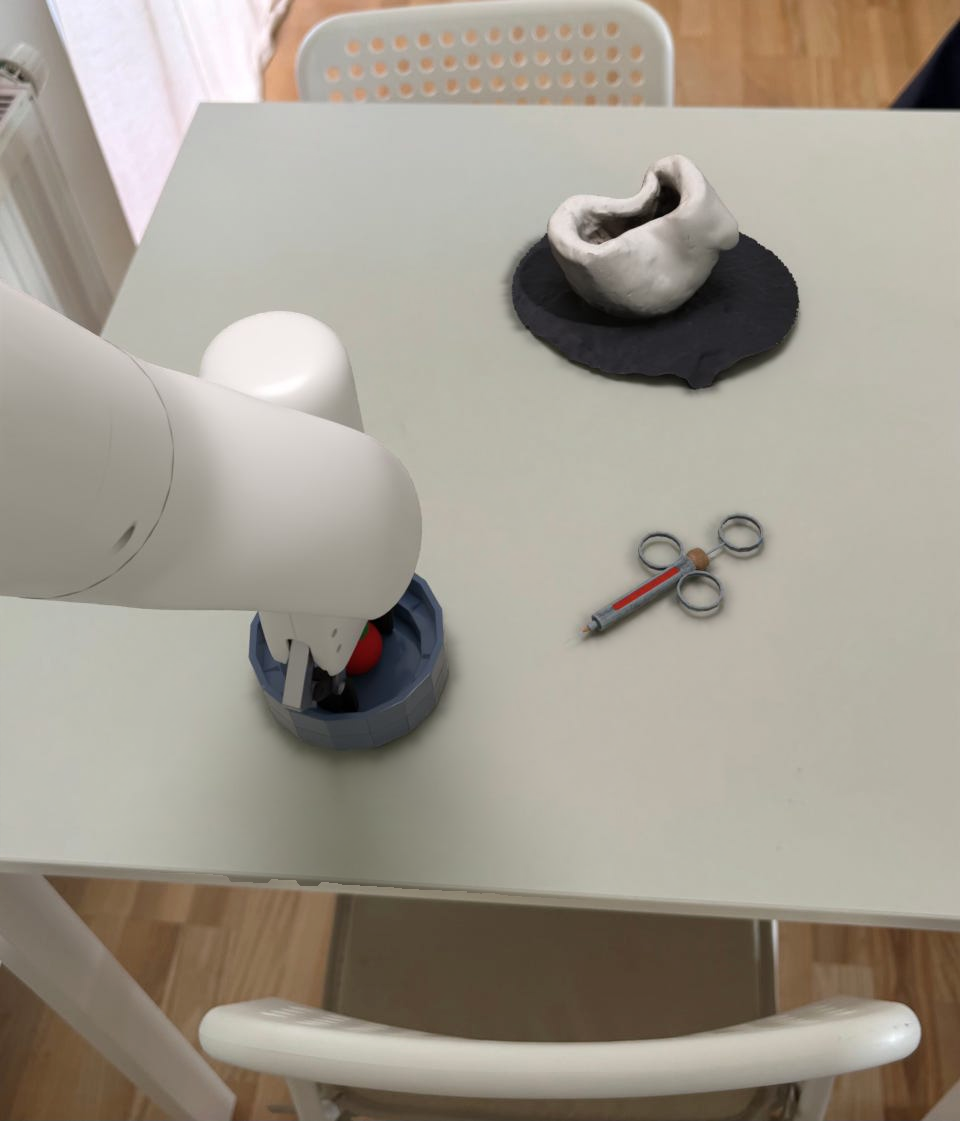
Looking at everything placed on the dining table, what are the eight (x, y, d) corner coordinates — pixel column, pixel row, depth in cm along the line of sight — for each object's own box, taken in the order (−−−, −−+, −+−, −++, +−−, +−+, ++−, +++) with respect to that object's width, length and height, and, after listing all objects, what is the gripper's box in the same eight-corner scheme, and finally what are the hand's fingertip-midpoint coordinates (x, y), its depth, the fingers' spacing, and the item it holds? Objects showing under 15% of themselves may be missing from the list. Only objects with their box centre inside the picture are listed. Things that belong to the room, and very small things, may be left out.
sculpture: (805, 401, 92) (850, 283, 82) (507, 388, 92) (513, 268, 82) (775, 227, 105) (811, 105, 95) (514, 216, 105) (520, 93, 95)
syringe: (532, 611, 80) (532, 599, 78) (721, 496, 85) (724, 482, 84) (597, 688, 76) (598, 676, 75) (791, 563, 81) (795, 549, 80)
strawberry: (371, 693, 76) (366, 654, 73) (317, 678, 77) (311, 639, 73) (392, 650, 78) (389, 611, 75) (341, 636, 79) (335, 597, 76)
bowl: (409, 776, 73) (402, 744, 69) (233, 724, 76) (216, 689, 72) (472, 617, 80) (469, 578, 76) (309, 574, 83) (297, 534, 78)
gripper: (311, 388, 68) (352, 556, 83) (183, 615, 59) (254, 758, 74) (425, 413, 66) (446, 580, 81) (311, 651, 57) (358, 789, 72)
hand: (354, 663), depth 77 cm, fingers open, 5 cm apart
